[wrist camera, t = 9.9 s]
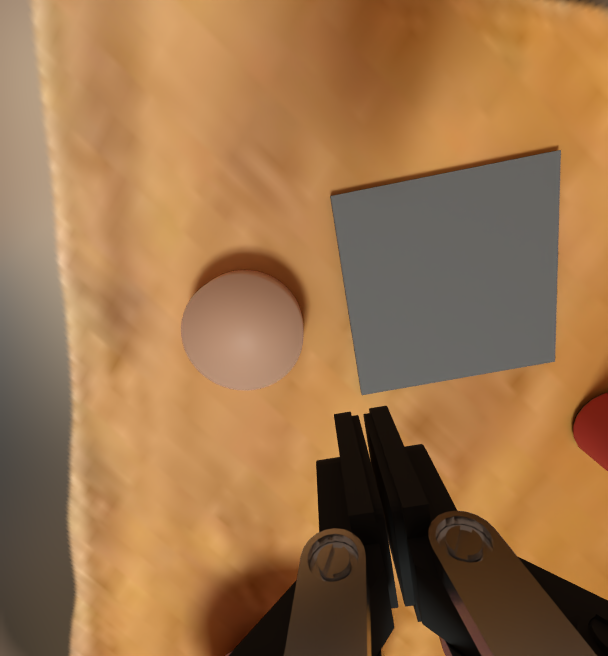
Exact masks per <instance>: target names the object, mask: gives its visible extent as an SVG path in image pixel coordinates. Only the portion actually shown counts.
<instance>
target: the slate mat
mask: <svg viewBox="0 0 608 656" xmlns="http://www.w3.org/2000/svg"><path fill="white" fill-rule="evenodd" d="M560 158H561V150H558V151H553V152H548V153H543V154H538V155H533V156H528V157H523V158H518V159H513V160H508V161H503V162H498V163H493V164H488V165H483V166H478V167H473V168H468V169H463V170H458V171H453V172H448V173H443V174H438V175H433V176H428V177H423V178H418V179H414V180H409V181H404V182H399V183H394V184H389V185H384V186H379V187H374V188H369V189H364V190H359V191H354V192H349V193H344V194H339V195H334V196H330V198H331V204H332V211H333V217H334V223H335V230H336V236H337V243H338V249H339V255H340V262H341V268H342V274H343V281H344V287H345V293H346V300H347V306H348V313H349V319H350V325H351V332H352V338H353V344H354V351H355V357H356V364H357V370H358V376H359V383H360V389H361V394H362V395H366V394H372V393H377V392H383V391H389V390H394V389H400V388H406V387H412V386H417V385H423V384H429V383H435V382H440V381H446V380H452V379H457V378H463V377H469V376H475V375H480V374H486V373H492V372H498V371H503V370H509V369H515V368H520V367H526V366H532V365H538V364H543V363H549V362H555V342H556V305H557V268H558V232H559V195H560Z"/></svg>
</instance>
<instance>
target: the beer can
mask: <svg viewBox="0 0 608 656" xmlns="http://www.w3.org/2000/svg"><path fill="white" fill-rule="evenodd" d="M573 432H574V438H575V441H576V443H577V445H578V447H579V448H581V449H582V450H583V451H584V452H585V453H586V454H588V455H589V456H590V457H591V458H592V459H594V460H595V461H596V462H597V463H598V464H600V465H601V466H602V467H603V468H604V469H606V470H607V471H608V393H604V394H602V395H600V396H598V397H596V398H594V399H592V400H591V401H589V402H588V403H587V404H586V405H585V406H583V408H582V409H581V410H580V412H579V413H578V415H577V416H576V419H575V422H574V425H573Z"/></svg>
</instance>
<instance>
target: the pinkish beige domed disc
mask: <svg viewBox="0 0 608 656" xmlns="http://www.w3.org/2000/svg"><path fill="white" fill-rule="evenodd" d="M181 336H182V342H183V346H184V349H185V351H186V354H187V356H188V358H189V359H190V361H191V362H192V364H193V365H194V366H195V368H196V369H197V370H198V371H199V372H200V373H201V374H202V375H204V376H205V377H206V378H208V379H209V380H211V381H212V382H214V383H216V384H218V385H221V386H223V387H226V388H230V389H235V390H256V389H261V388H264V387H267V386H269V385H272V384H274V383H276V382H277V381H279V380H280V379H282V378H283V377H284V376H285V375H286V374H287V373H288V372H289V371H290V370H291V369H292V368H293V366H294V365H295V363H296V362H297V360H298V358H299V355H300V353H301V350H302V345H303V317H302V313H301V309H300V307H299V304H298V302H297V300H296V298H295V297H294V295H293V294H292V293H291V291H290V290H289V289H288V288H287V287H286V286H285V285H284V284H283V283H281V282H280V281H279V280H277V279H276V278H274V277H272V276H270V275H268V274H265V273H262V272H259V271H254V270H235V271H230V272H227V273H224V274H221V275H219V276H218V277H216V278H214V279H213V280H211V281H210V282H208V283H207V284H206V285H204V286H203V287H201V288H200V289H199V290H198V291H197V292H196V293H195V294H194V295H193V297H192V298H191V299H190V301H189V303H188V304H187V306H186V308H185V311H184V314H183V318H182V324H181Z"/></svg>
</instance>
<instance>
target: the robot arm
mask: <svg viewBox="0 0 608 656" xmlns="http://www.w3.org/2000/svg"><path fill="white" fill-rule="evenodd" d="M369 412H370V413H368V414H364V422H365V428H366V434H367V441H368V447H369V453H370V457H369V454H368V450H367V446H366V442H365V439H364V435H363V431H362V427H361V424H360V420H359V416H358V415H355V416H352V415H351V412H345V413H339V414H334V419H335V426H336V433H337V440H338V447H339V454H340V457H337V458H330V459H324V460H318V461H316V469H317V491H318V512H319V533H317V534H316V535H314V536H313V537H312V538H311V539H309V541H308V542H307V543H306V545H305V546H304V548H303V551H302V554H301V558H300V564H299V570H298V576H297V580H296V581H295V583H294V584H293V585H292V586H291V587H290V588H289V589H288V590H287V591H286V593H285V594H284V595H283V596H282V597H281V598H280V599H279V600H278V601H277V603H276V604H275V605H274V606H273V607H272V608H271V609H270V610H269V611H268V612H267V614H266V615H265V616H264V617H263V618H262V619H261V620H260V621H259V622H258V624H257V625H256V626H255V627H254V628H253V629H252V630H251V631H250V632H249V634H248V635H247V636H246V637H245V638H244V639H243V640H242V641H241V642H240V644H239V645H238V646H237V647H236V648H235V649H234V650H233V651H232V652H231V654H230V655H229V656H384V654H383V648H382V647H383V645H384V644H385V642H386V640H387V639H388V637H389V636H390V634H391V632H392V631H393V629H394V622H393V616H392V610H391V608H398V601H397V595H396V588H395V582H394V575H393V568H392V562H391V555H390V549H391V553H392V557H393V561H394V565H395V569H396V573H397V577H398V581H399V584H400V588H401V592H402V596H403V600H404V604H405V606H414V609H415V613H416V616H417V620H418V622H421V621H422V624H423V625H425V626H426V627H427V628H429V629H430V630H431V631H433V632H434V633H436V634H437V635H438V636H439V639H440V642H441V645H442V648H443V651H444V653H445V655H446V656H608V600H606V599H603V598H601V597H599V596H597V595H595V594H593V593H591V592H589V591H587V590H585V589H583V588H581V587H579V586H577V585H575V584H573V583H571V582H569V581H567V580H565V579H562V578H560V577H558V576H556V575H554V574H552V573H550V572H548V571H546V570H544V569H542V568H540V567H538V566H536V565H534V564H532V563H530V562H528V561H526V560H524V559H521V558H519V557H517V556H516V554H515V553H514V552H513V551H512V549H511V548H510V547H509V546H508V544H507V543H506V542H505V541H504V539H503V538H502V537H501V536H500V535H499V533H498V532H497V531H496V530H495V528H494V527H493V526H491V525H490V524H489V523H488V522H487V521H486V520H484V519H483V518H481V517H479V516H478V515H475V514H472V513H469V512H464V511H457V509H456V507H455V505H454V503H453V501H452V499H451V497H450V495H449V493H448V492H447V490H446V488H445V486H444V484H443V482H442V480H441V478H440V476H439V474H438V472H437V470H436V468H435V466H434V464H433V462H432V460H431V458H430V457H429V455H428V453H427V451H426V449H425V447H424V445H422V444H419V445H413V446H406V447H404V445H403V442H402V440H401V438H400V435H399V433H398V431H397V428H396V426H395V424H394V421H393V419H392V417H391V414H390V412H389V410H388V407H387V406H381V407H375V408H369ZM370 460H371V461H370ZM388 541H389V542H388ZM389 545H390V549H389Z"/></svg>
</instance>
